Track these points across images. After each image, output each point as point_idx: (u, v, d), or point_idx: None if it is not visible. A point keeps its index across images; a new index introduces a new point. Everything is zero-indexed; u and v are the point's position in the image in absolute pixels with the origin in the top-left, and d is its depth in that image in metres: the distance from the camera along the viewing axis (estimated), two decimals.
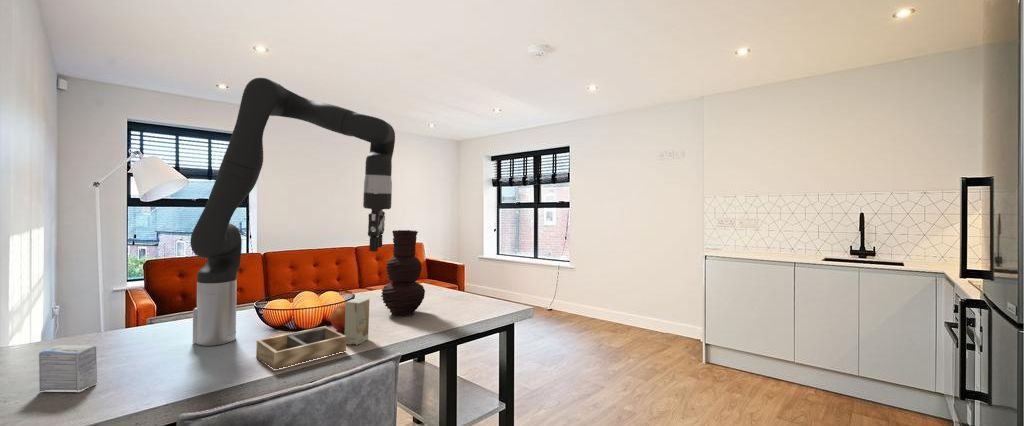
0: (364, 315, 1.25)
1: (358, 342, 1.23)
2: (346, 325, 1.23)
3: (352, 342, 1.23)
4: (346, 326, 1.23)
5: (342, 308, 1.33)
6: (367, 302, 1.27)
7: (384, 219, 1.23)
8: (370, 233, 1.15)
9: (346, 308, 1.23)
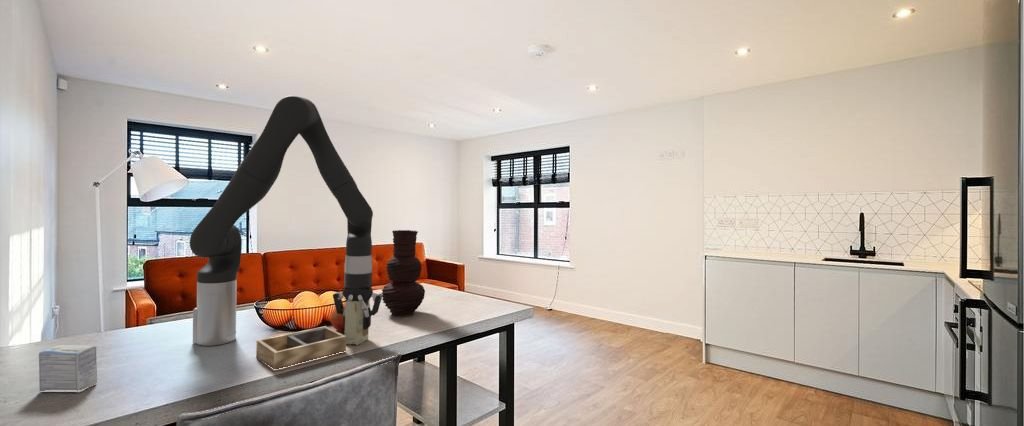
0: (364, 315, 1.25)
1: (358, 342, 1.23)
2: (346, 325, 1.23)
3: (352, 342, 1.23)
4: (346, 326, 1.23)
5: None
6: None
7: None
8: (375, 312, 1.25)
9: (346, 308, 1.23)
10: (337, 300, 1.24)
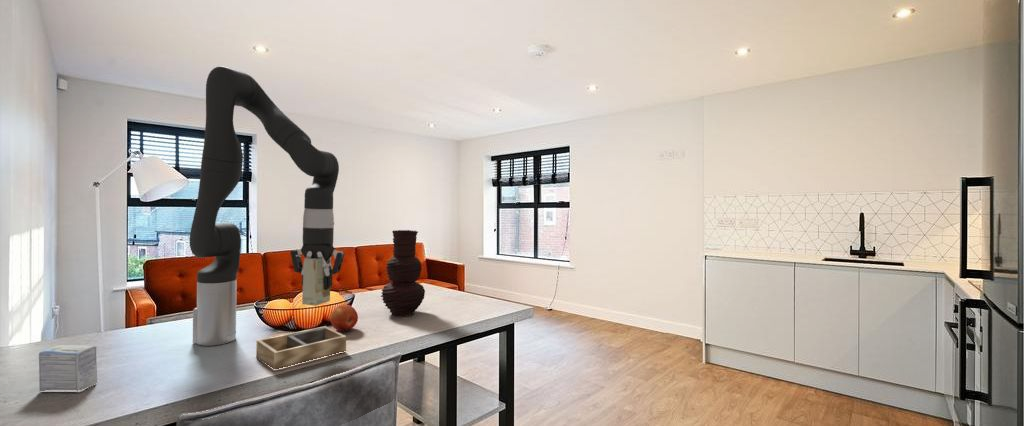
0: (324, 274, 1.16)
1: (317, 302, 1.13)
2: (304, 284, 1.13)
3: (310, 302, 1.13)
4: (304, 285, 1.13)
5: (342, 308, 1.33)
6: (328, 260, 1.17)
7: None
8: (337, 271, 1.15)
9: (304, 265, 1.13)
10: (295, 257, 1.15)
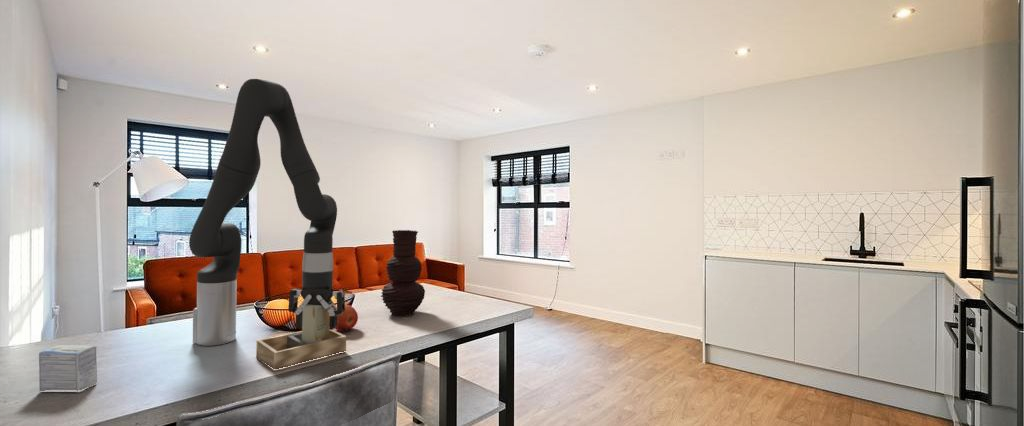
0: (323, 320, 1.16)
1: None
2: (303, 331, 1.14)
3: None
4: (303, 332, 1.14)
5: None
6: None
7: None
8: (342, 311, 1.16)
9: (303, 313, 1.14)
10: (293, 297, 1.15)
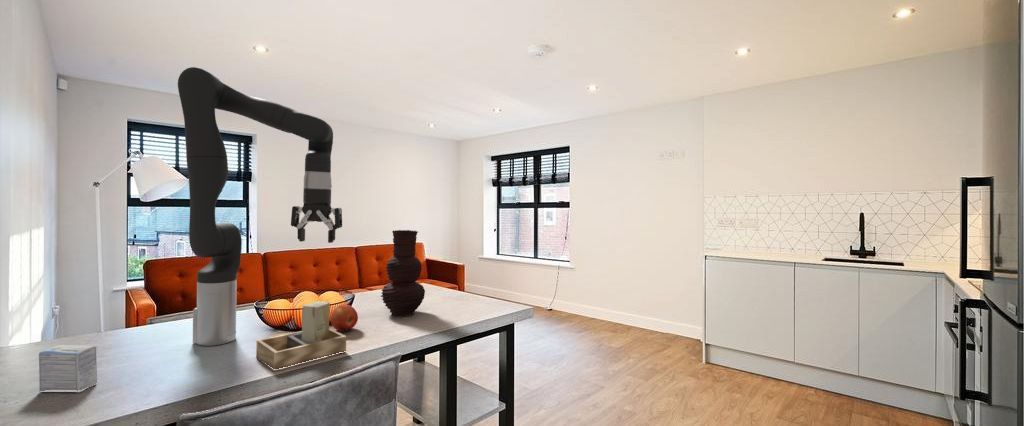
0: (323, 320, 1.16)
1: None
2: (303, 331, 1.14)
3: None
4: (303, 332, 1.14)
5: (342, 308, 1.33)
6: (327, 306, 1.18)
7: None
8: (339, 225, 1.28)
9: (303, 313, 1.14)
10: (295, 213, 1.27)
